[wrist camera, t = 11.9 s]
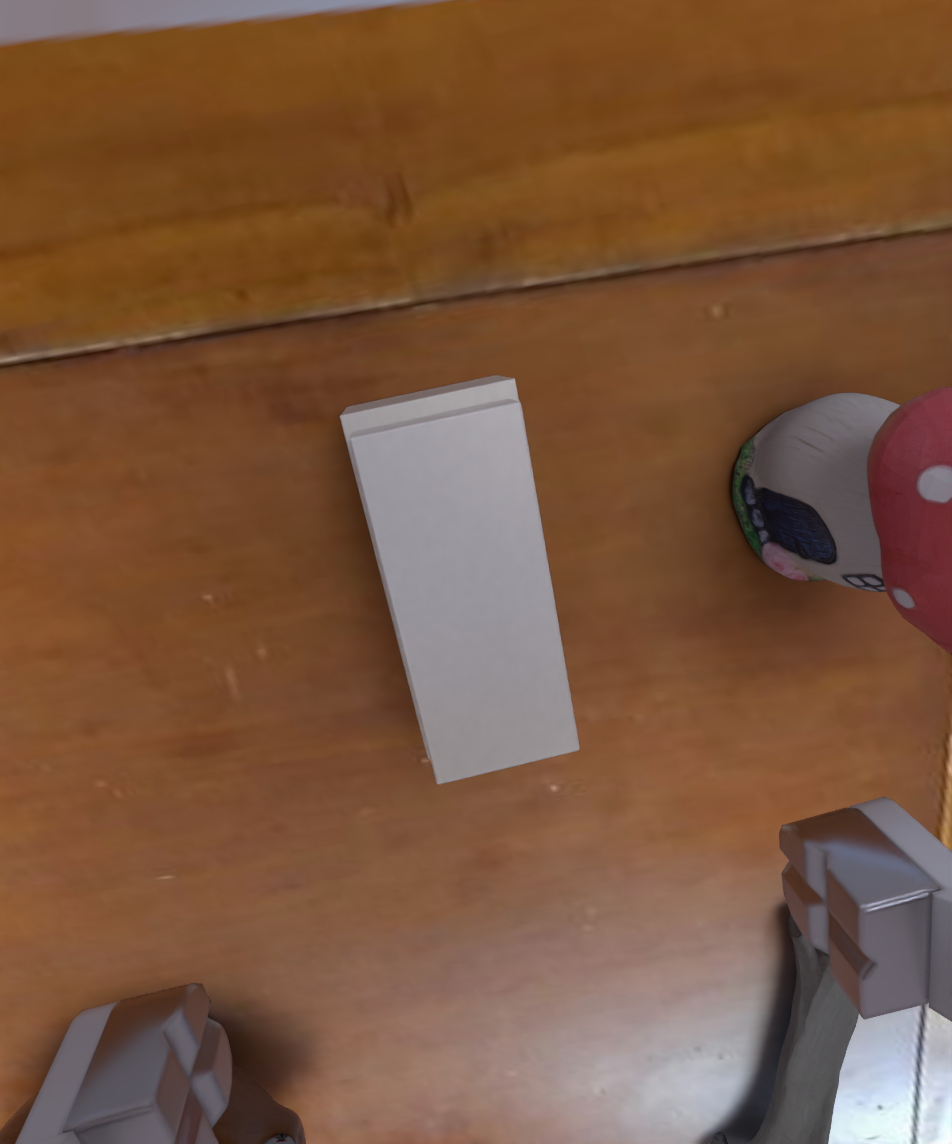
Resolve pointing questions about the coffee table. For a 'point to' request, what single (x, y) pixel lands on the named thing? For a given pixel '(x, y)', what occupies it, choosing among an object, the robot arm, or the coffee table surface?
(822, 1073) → the bone
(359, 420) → the grey oblong block
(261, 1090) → the piggy bank
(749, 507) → the decorative ornament
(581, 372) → the coffee table surface
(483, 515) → the pale grey rectangular block
